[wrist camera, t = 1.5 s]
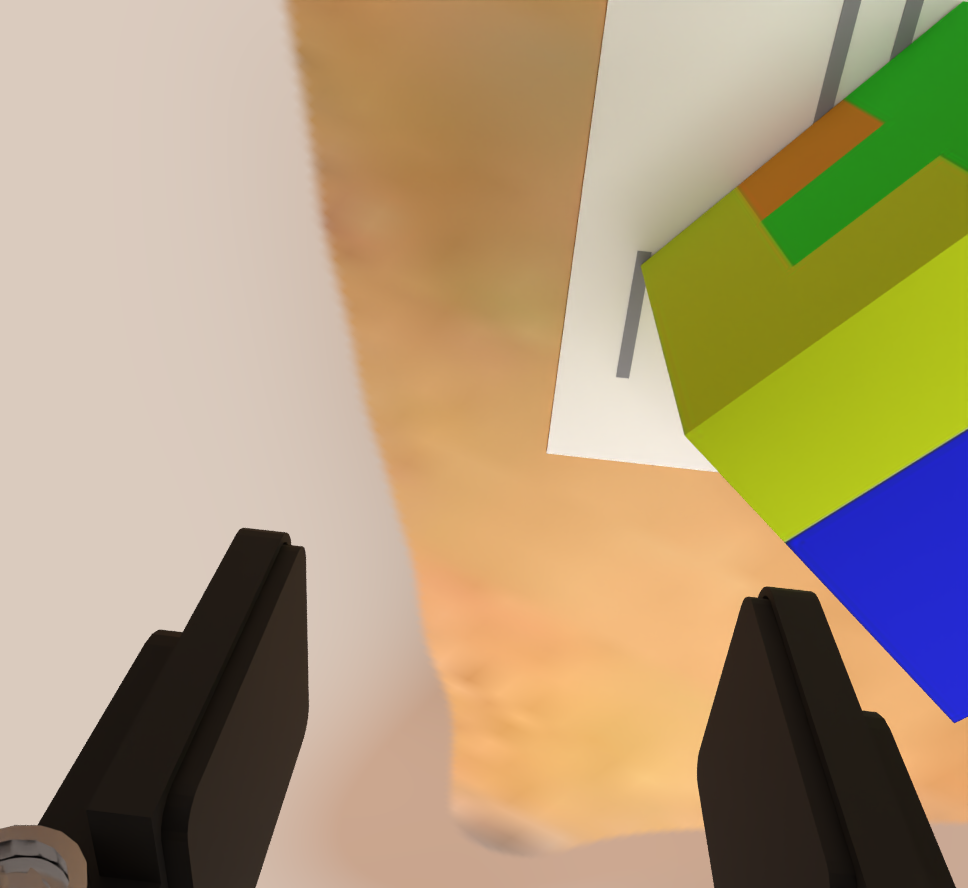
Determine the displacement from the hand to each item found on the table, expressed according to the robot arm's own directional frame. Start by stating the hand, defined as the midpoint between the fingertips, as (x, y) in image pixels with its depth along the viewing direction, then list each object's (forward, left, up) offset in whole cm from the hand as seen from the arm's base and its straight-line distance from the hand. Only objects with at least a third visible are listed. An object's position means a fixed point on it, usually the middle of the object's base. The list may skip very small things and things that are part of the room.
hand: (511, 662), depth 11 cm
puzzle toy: (0, +10, -17) cm, 20 cm away
